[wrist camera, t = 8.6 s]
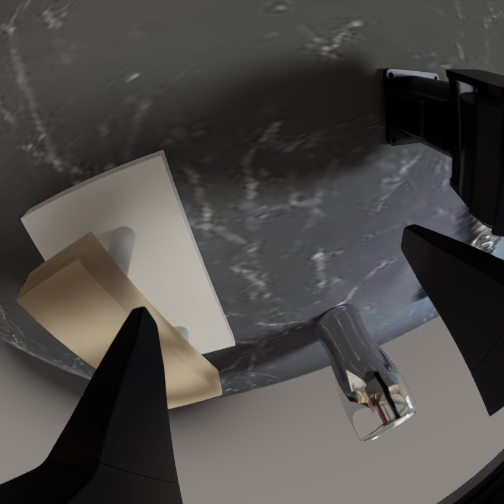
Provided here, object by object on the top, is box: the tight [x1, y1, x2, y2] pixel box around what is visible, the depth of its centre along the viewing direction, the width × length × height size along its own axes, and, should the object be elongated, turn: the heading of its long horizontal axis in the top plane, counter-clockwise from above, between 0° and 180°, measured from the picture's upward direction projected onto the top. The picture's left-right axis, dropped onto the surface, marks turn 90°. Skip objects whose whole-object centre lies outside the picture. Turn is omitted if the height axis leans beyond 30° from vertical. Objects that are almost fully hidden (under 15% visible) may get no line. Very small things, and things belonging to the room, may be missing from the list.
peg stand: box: [21, 150, 235, 354], centre depth 20 cm, size 12×20×6 cm, turn 11°
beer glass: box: [314, 305, 419, 443], centre depth 26 cm, size 7×7×15 cm
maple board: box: [16, 231, 222, 409], centre depth 17 cm, size 16×6×2 cm, turn 21°
